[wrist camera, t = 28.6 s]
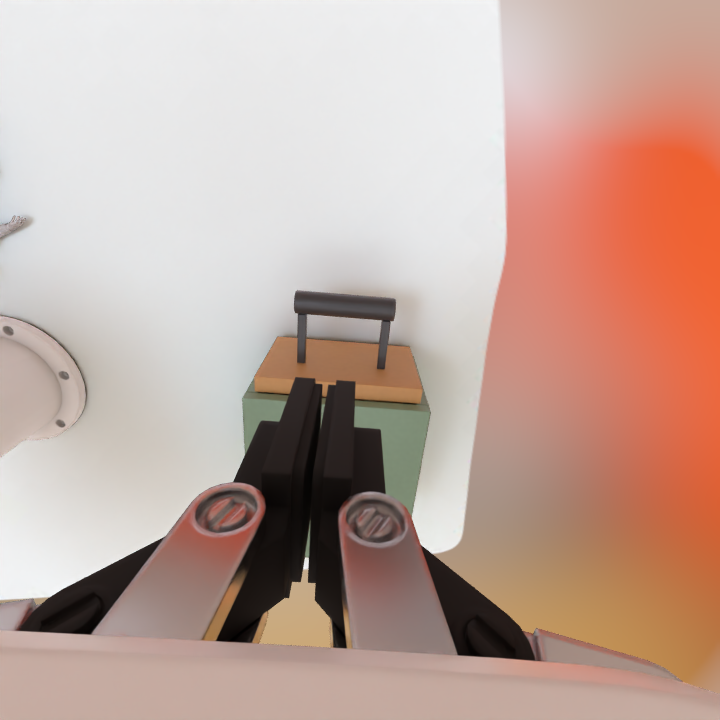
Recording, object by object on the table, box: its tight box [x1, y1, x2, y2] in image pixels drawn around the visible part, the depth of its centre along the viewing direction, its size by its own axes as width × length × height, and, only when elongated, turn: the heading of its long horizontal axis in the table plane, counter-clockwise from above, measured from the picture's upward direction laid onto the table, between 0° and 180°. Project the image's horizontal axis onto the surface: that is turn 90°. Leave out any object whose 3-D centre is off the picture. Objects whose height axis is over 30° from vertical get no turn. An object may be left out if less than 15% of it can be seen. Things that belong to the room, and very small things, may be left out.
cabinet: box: [242, 356, 431, 557], centre depth 33 cm, size 15×13×10 cm
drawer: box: [254, 290, 423, 404], centre depth 32 cm, size 19×12×8 cm, turn 175°
